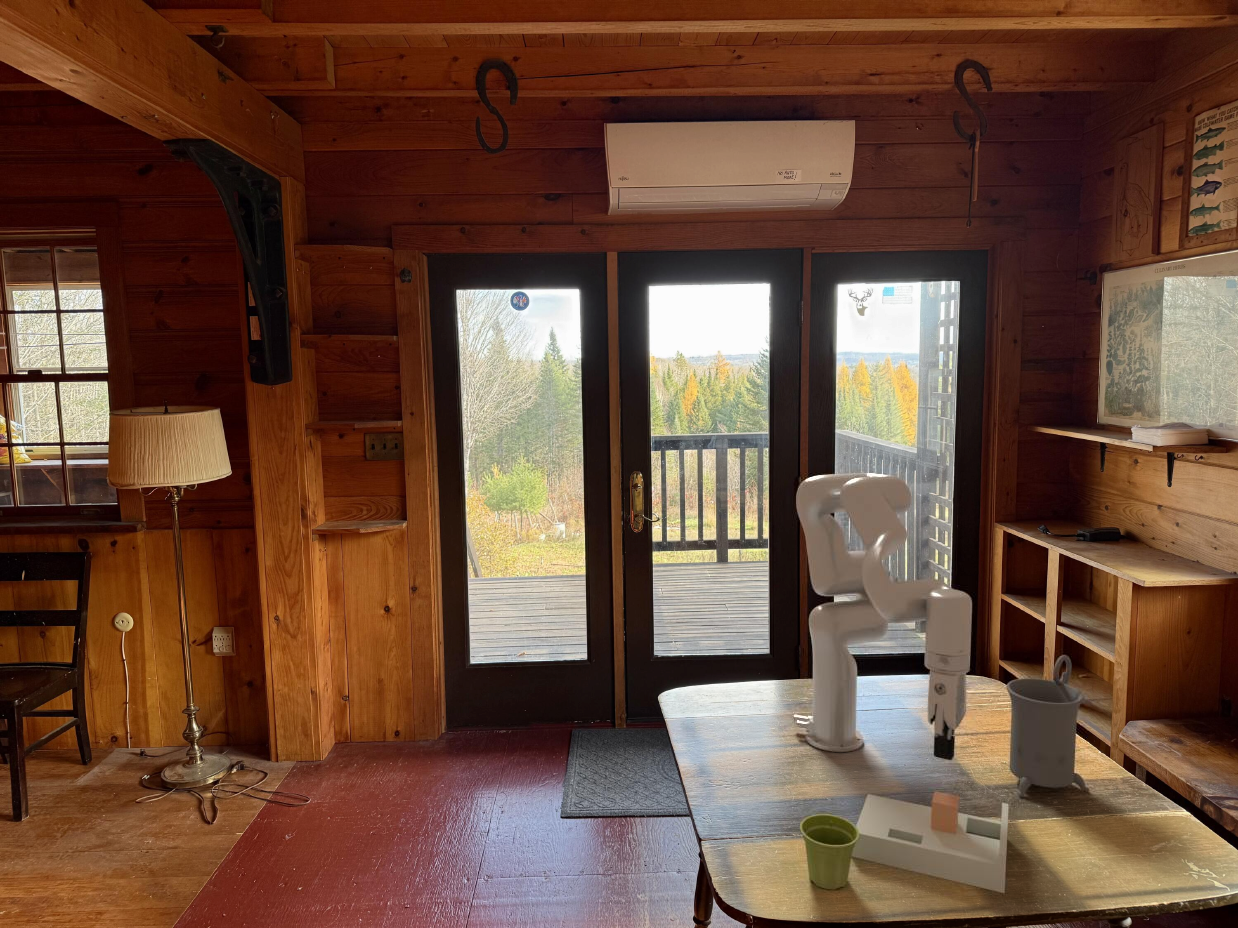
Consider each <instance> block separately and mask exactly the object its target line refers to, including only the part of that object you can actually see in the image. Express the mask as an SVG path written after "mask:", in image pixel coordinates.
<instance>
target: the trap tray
mask: <svg viewBox="0 0 1238 928" xmlns="http://www.w3.org/2000/svg"><path fill="white" fill-rule="evenodd" d="M931 811H932V806H927V805H923V804H917V803H912V802H907V801H903V800H898V799H893V798H889V797H884V796H879V795H874V794H869V793H868V794H867V795H866V799H865V801H864V804H863V806H862V810H861V811H860V814H859V817H858V819H857V822H856V825H855V826H856V827H857V829H858V831H859V839H858V841H857V842H856V843H855V847H854V848H853V852H852V857H853V858H856V859H859V860H865V861H869V862H872V863H876V864H880V865H885V866H890V867H894V868H898V869H902V870H906V871H911V872H914V873H918V874H922V875H927V876H930V877H931V876H932V877H936V878H940V879H944V880H947V881H948V880H949V881H953V882H956V883H961V884H963V885H967V886H968V885H969V886H972V887H975V888H976V887H977V888H981V889H985V890H989V891H993V892H998V893H1000V894H1001V893H1003V894H1005V890H1006V889H1005V888H1006V868H1007V867H1006V866H1007V847H1008V829H1009V828H1008V826H1009V804H1008V803H1006V802H1002V804H1001V817H1000V819H1001V820H995V819H991V818H986V817H980V816H976V815H972V814H966V813H963V812H962V813H961V812H958V825H957V830H956V834H952V833H947V832H943V831H938V830H934V829H931ZM852 857H851V858H852Z"/></svg>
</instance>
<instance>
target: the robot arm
mask: <svg viewBox="0 0 1238 928" xmlns="http://www.w3.org/2000/svg"><path fill="white" fill-rule="evenodd" d="M795 497H796V498H795V499H796V500H795V502H796V510H797V511H796V512H797V515H798V518H799V521H800V523H801V526H802V528H803V533H804V536H805V542H806V543H805V544H806V552H807V558H808V559H807V560H808V568H809V576H810V582H811V586H812V589H813V590H814V592H815V593H816V594H817V595H818V596H819V595H820V596H824V597H836V596H845V595H846V596H847V595H855V599H853V600H852V599H851V600H840V601H839V600H838V601H833V602H825V603H823V604H820V605H817V606H816V607H814V608H813V609H812V610H811V612H810V614H809V617H808V627H809V628H808V629H809V633H810V637H811V639H810V640H811V646H812V711H811V713H812V715H808V716H805V715H802V714H795V713H794V715H793V723H794V724H796V727H797V728H800V729H801V728H802V729H806V730H805V733H804V738H805V741H806V742H807V743H809V744H810V745H811V746H813V747H814V748H817V749H819V750H824V751H826V752H828V751H829V752H833V753H835V752H836V753H844V752H852V751H856V750H857V749H860V748H861V747H862V746H863V743H864V737H863V735H862V733H860V731H858V730H857V699H858V697H857V693H858V691H857V689H858V687H857V686H858V682H857V681H858V666H857V662H856V659H855V658H854V656H853V655H852V653H851V652H850V651H849V648H848V647H849V646H853V645H857V644H864V643H872V642H878V641H880V640H882V639H884V638H885V636H886V635H887V633H888V629H889V623H890V624H904V623H913V622H923V621H924V622H925V642H924V643H925V644H924V650H925V651H924V666H925V667H926V669H928V670H930V671H929V679H928V690H927V691H928V696H927V722H928V723H929V725H933V724H934V735H933V737H934V738H933V756H934V757H935V758H940V759H944V760H947V761H953V758H954V757H955V742H956V741H955V740H956V738H955V737H956V736H955V730H956V729H958V727H959V726H960V724H961V723H962V721H963V719H964V718H965V716H966V713H967V673H968V672H970V671H971V668H970V666H971V646H972V643H971V642H972V639H971V638H972V620H973V619H972V615H973V601H972V597H971V596H970V595H969V594H968V593H966V592H965V591H962V590H959V589H955V588H952V587H951V586H950V585H949V584H948V583H946V582H944V581H943V580H940V579H938V578H926V579H925V578H924V579H912V580H910V579H909V580H901V581H893V580H892V579H891V577H890V575H889V574H888V572H887V570H886V569H885V566H884V564H883V560H885V559H887V558H889V556H891V555H893V554H895V553H896V552H897V551H898V550H899V549H901V548H902V547H903V545H904V544H905V543H906V541H907V538H908V531H907V529H906V527H905V525H904V523H902V521H901V519H900V518H899V515H901V516H902V515H903V514H905V513H906V512H907V511H908V510H909V509H910V508H911V504H912V493H911V490H910V487H909V486H908V485H907V483H906V482H905V481H904V480H903V478H901V477H898V476H896V475H893V474H892V475H888V474H880V473H871V472H862V473H861V472H856V473H854V472H853V473H835V474H834V473H832V474H831V473H830V474H820V475H814V476H811V477H808V478H806V479H805V480H803V481H802V482H801V483H800V485H799V486H798V488H797V491H796V495H795ZM833 513H836V514H837V513H846V515H847V516H848V518H849V521H850V522H851V523H852V526H853V527H854V529H855V531H856V532H857V535H858V536H859V538H860V539H861V542H862V543H863V545H864V546H865V548H866V550H851V551H848V550H847V547H846V537H845V534H844V533H845V532H844V530H843V528H842V527H841V524H839V522H838V520H836V519H835V517H834V516H833V515H831V514H833Z"/></svg>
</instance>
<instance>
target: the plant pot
mask: <svg viewBox="0 0 1238 928" xmlns="http://www.w3.org/2000/svg"><path fill="white" fill-rule="evenodd" d="M799 830H800V833H801V834H802V837H803V838H802V839H803V841H804V844H805V851H806V852H805V853H806V861H807V868H808V876H809V879H810V881H812V882H813V883H814V884H815V885H816V886H817V887H818V888H819V887H820V888H822V889H826V890H832V891H833V890H837V889H839V888H844V887H845V886H846V885H847V883H848V879H849V874H850V870H851V869H850V866H851V863H852V852H853V848H854V847H855V843H856V842H857V841H858V839H859V831H858V829H857V827H856V825H855V824H854V823H853V822H852V821H850V820H849V819H847V818H844V817H841V816H839V815H835V814H830V813H829V814H828V813H820V814H819V813H818V814H812V815H809V816H807V817H805V818H804V819H803V820H802V821H800V824H799Z"/></svg>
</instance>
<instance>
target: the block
mask: <svg viewBox="0 0 1238 928" xmlns="http://www.w3.org/2000/svg"><path fill="white" fill-rule="evenodd" d="M959 798H960V797H959V795H953V794H949V793H944V792H941V791H935V790H934V792H933V796H932V798H931V807H932V811H931V829H934V830H938V831H943V832H947V833H952V834H956V830H957V825H958V813H959V800H960V799H959Z"/></svg>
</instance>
